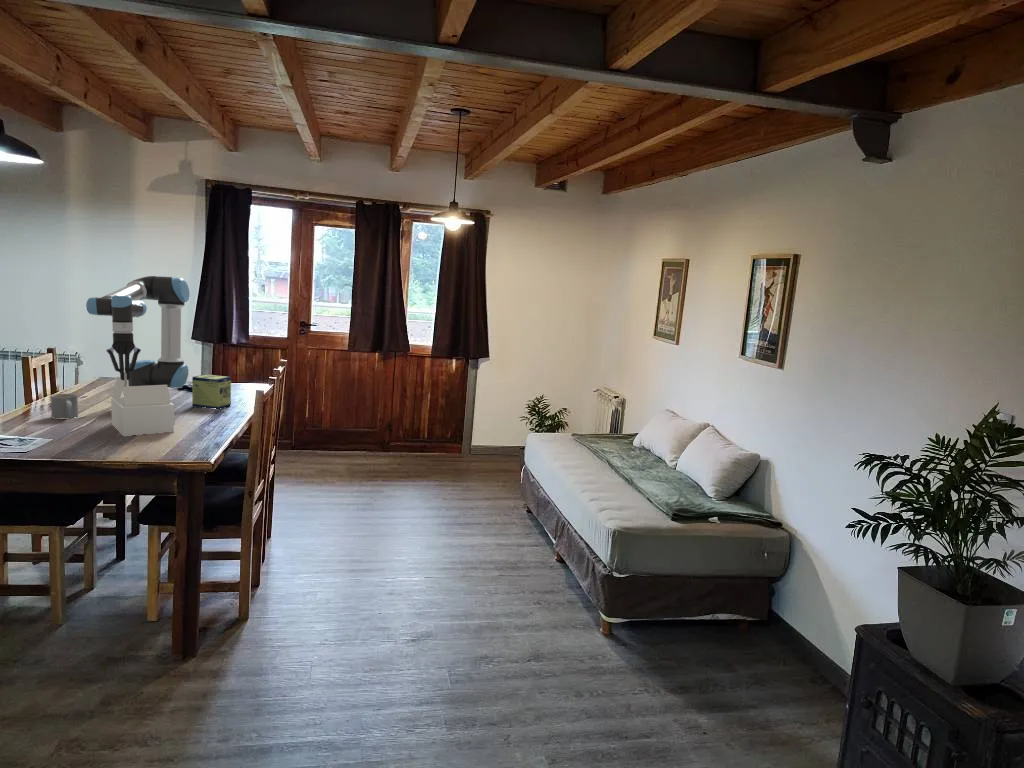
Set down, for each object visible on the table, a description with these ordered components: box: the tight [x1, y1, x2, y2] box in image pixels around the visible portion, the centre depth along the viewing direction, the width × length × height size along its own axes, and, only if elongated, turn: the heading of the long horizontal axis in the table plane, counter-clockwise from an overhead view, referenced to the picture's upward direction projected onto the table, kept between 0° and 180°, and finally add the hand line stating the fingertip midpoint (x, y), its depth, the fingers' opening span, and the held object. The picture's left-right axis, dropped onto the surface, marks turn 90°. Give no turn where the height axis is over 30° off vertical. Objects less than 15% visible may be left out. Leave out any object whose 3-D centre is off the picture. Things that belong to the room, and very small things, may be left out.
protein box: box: [191, 374, 232, 410], centre depth 349 cm, size 10×16×16 cm
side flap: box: [111, 376, 125, 402], centre depth 289 cm, size 13×1×9 cm, turn 40°
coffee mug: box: [50, 393, 79, 419], centre depth 305 cm, size 13×10×10 cm
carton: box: [110, 397, 176, 437], centre depth 295 cm, size 24×20×12 cm
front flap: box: [122, 385, 172, 406], centre depth 287 cm, size 1×17×9 cm
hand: (125, 387), depth 291 cm, fingers closed
